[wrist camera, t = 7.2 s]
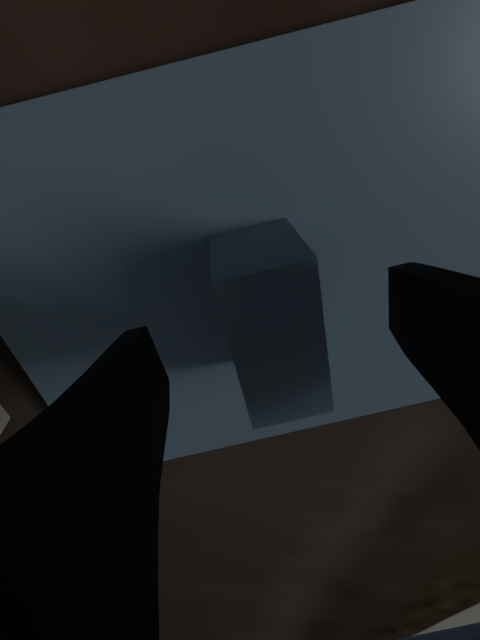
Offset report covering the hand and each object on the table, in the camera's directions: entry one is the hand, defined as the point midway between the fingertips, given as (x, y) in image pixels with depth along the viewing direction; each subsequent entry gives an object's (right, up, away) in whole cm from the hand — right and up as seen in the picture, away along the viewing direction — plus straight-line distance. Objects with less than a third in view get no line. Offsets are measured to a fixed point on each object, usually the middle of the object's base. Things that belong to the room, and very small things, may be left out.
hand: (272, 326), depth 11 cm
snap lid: (0, +1, +3) cm, 3 cm away
